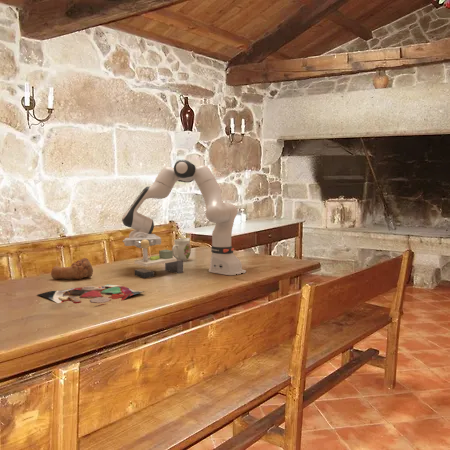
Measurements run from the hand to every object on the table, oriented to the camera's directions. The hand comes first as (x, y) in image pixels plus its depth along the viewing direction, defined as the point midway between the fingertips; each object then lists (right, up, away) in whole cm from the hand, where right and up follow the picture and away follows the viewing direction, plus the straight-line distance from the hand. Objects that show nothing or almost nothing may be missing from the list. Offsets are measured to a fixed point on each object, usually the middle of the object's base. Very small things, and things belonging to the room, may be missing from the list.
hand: (145, 243), depth 252 cm
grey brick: (+6, -17, +9) cm, 20 cm away
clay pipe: (-37, -19, -5) cm, 42 cm away
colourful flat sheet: (-18, -23, -38) cm, 48 cm away
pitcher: (+15, -13, +49) cm, 52 cm away
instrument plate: (+5, -11, +6) cm, 13 cm away
